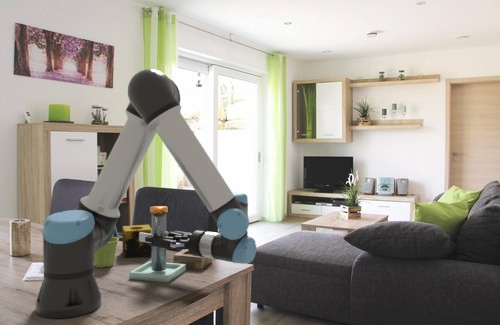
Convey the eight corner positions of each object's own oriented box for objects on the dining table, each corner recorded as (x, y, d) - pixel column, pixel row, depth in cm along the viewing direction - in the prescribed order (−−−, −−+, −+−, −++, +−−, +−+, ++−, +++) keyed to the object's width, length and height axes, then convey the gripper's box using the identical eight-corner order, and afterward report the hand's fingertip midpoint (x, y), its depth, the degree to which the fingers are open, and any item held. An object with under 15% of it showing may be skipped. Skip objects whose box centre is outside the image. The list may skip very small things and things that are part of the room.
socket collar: (201, 269, 142) (201, 257, 142) (173, 266, 144) (173, 255, 144) (211, 261, 152) (211, 250, 151) (185, 259, 154) (185, 248, 154)
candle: (149, 249, 167) (149, 224, 167) (153, 256, 158) (153, 229, 158) (122, 251, 164) (122, 225, 163) (124, 258, 154) (124, 230, 154)
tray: (168, 282, 128) (168, 275, 128) (129, 278, 131) (129, 272, 131) (185, 270, 141) (185, 264, 140) (149, 267, 144) (149, 261, 144)
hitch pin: (162, 272, 132) (163, 209, 132) (146, 270, 134) (146, 208, 133) (170, 267, 138) (170, 206, 137) (154, 266, 139) (155, 205, 138)
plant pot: (109, 270, 140) (109, 243, 139) (83, 268, 142) (83, 242, 141) (123, 262, 149) (123, 237, 148) (98, 260, 151) (98, 236, 150)
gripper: (187, 264, 119) (125, 252, 130) (222, 250, 134) (164, 241, 146) (187, 237, 119) (125, 228, 130) (222, 226, 134) (164, 219, 146)
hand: (146, 235), depth 138 cm, fingers open, 5 cm apart
